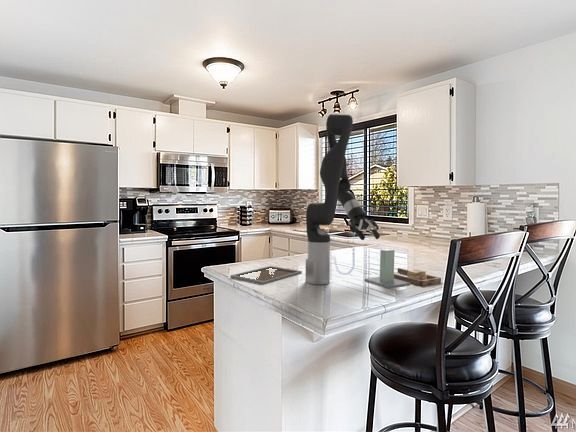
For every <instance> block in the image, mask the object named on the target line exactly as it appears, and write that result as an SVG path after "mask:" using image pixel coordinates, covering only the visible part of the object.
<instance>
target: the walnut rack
mask: <svg viewBox="0 0 576 432" xmlns="http://www.w3.org/2000/svg"><path fill="white" fill-rule="evenodd" d="M409 270H410V269H409ZM409 270H408V269H405V268H400V267H398V268H397V273H400V274H397V273H394V278H395V279H399V280H402V281H406V282H410V284H413V285H415V286H418V287H419V286H420V287H425V286H429V285H430V286H431V285H436V283H437V284H440V283H442V277H438V276H435V275H434V276H433V275H430V274H427V280H417V279H414V278H410V277H408V274H407V271H409ZM405 275H406V276H405Z"/></svg>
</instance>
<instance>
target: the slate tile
mask: <svg viewBox="0 0 576 432" xmlns="http://www.w3.org/2000/svg"><path fill="white" fill-rule="evenodd" d="M364 281H365V282H367V283H371V284H373V285H374V284H375V285H377V286H380V287H384V288H387V289H391V288H392V289H393V288H397V287H405V286H410V285H411V283H410V282H406V281H402V280H399V279H395V278H394V281H389V282H383V281H380V276H375V277H374V276H373V277H369V278H368V277H367V278H364Z"/></svg>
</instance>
